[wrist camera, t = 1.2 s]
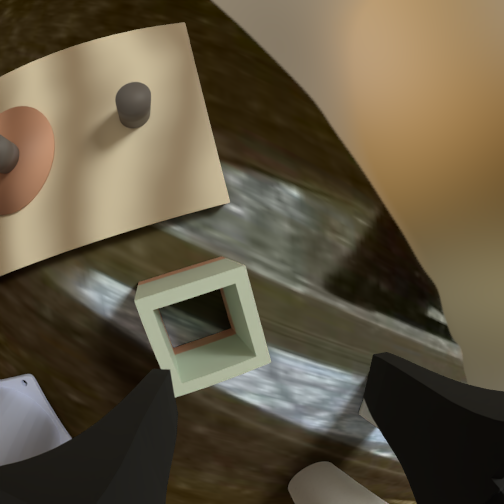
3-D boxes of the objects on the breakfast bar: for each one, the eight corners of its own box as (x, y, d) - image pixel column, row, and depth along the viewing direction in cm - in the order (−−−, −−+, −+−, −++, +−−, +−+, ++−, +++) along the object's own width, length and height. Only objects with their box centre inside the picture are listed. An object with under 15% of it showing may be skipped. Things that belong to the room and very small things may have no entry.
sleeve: (167, 359, 18) (174, 397, 14) (138, 282, 18) (134, 300, 13) (243, 333, 20) (271, 362, 15) (221, 256, 19) (245, 265, 14)
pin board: (-13, 281, 14) (-38, 291, 10) (-31, 102, 11) (-52, 86, 8) (226, 203, 19) (242, 198, 16) (183, 29, 17) (190, 1, 13)
